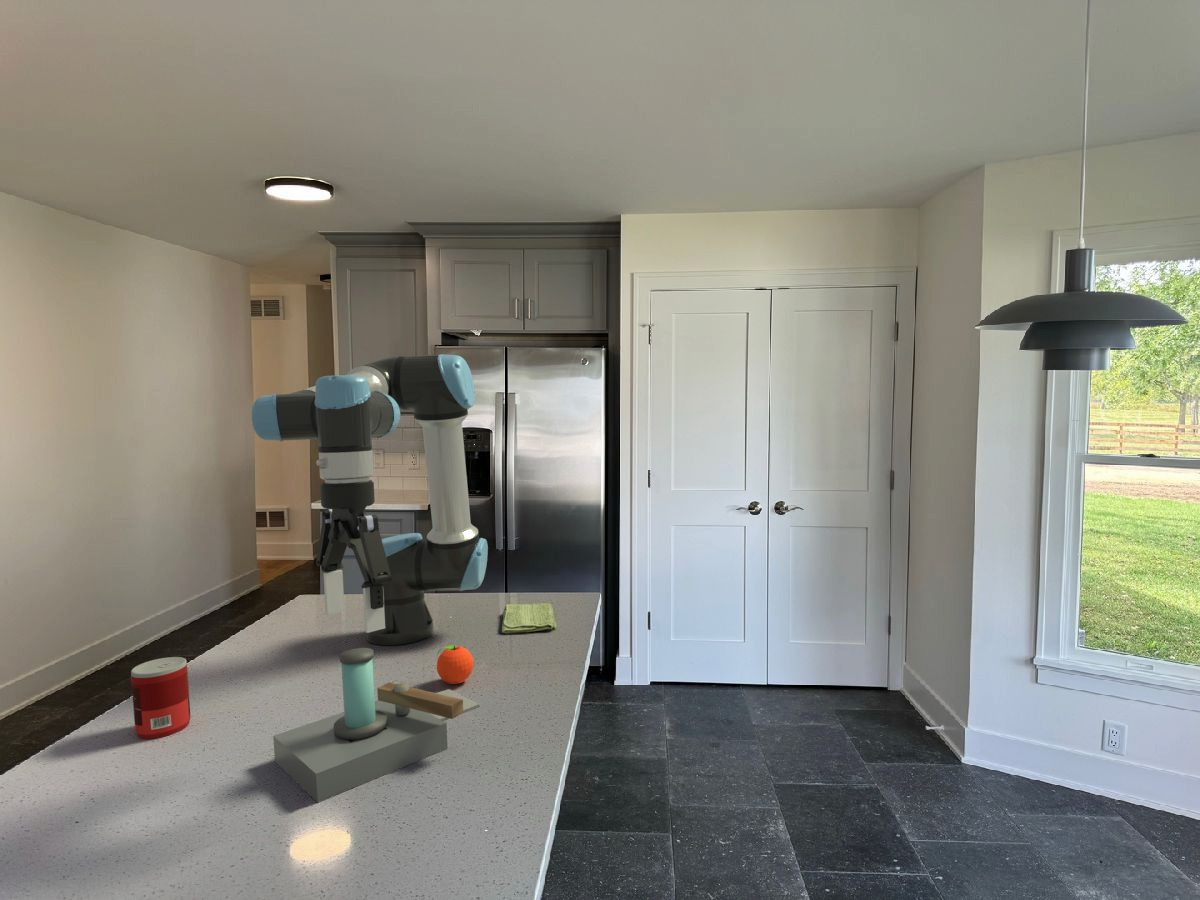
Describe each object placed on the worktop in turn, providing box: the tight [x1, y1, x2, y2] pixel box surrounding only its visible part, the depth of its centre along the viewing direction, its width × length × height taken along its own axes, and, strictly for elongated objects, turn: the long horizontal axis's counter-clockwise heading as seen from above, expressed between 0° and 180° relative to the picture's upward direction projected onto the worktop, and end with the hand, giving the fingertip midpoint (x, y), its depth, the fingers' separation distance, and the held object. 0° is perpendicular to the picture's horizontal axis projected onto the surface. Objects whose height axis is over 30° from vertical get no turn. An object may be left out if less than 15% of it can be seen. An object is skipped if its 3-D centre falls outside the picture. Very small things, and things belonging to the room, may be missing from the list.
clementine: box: [436, 645, 474, 685], centre depth 133 cm, size 8×7×7 cm
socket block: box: [272, 699, 448, 803], centre depth 105 cm, size 16×20×4 cm
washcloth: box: [501, 602, 558, 635], centre depth 169 cm, size 13×18×3 cm
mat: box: [431, 688, 480, 721], centre depth 122 cm, size 10×10×1 cm
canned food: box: [130, 656, 192, 740], centre depth 116 cm, size 8×8×11 cm
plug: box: [334, 647, 387, 742], centre depth 105 cm, size 8×8×16 cm
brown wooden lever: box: [376, 682, 464, 720], centre depth 108 cm, size 2×16×4 cm, turn 60°
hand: (354, 621), depth 104 cm, fingers open, 13 cm apart
